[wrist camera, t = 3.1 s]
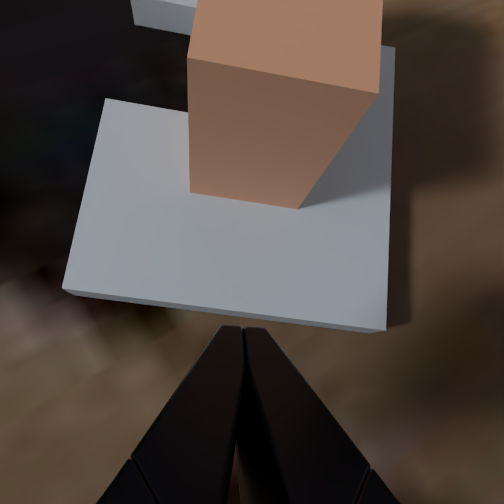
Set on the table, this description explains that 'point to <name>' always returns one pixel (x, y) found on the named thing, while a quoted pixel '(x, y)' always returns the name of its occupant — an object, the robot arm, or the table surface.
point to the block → (277, 92)
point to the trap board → (233, 219)
